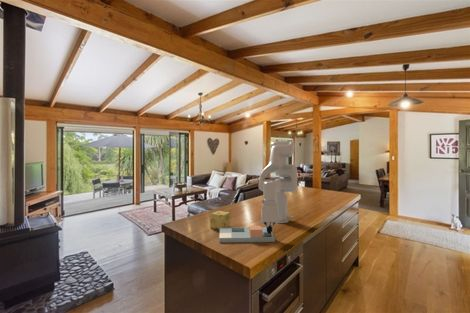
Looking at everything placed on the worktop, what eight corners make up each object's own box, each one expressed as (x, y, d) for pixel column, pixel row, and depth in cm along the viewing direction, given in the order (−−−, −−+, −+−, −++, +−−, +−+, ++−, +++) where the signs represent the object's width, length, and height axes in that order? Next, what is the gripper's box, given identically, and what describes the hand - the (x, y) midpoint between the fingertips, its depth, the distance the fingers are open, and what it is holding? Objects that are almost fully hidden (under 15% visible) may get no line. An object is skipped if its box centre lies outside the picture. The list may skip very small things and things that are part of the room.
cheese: (222, 230, 152) (222, 215, 152) (209, 227, 158) (209, 213, 158) (230, 226, 161) (230, 212, 161) (218, 223, 167) (218, 210, 167)
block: (260, 233, 141) (260, 225, 141) (262, 237, 134) (262, 229, 134) (248, 233, 141) (249, 225, 141) (250, 237, 134) (250, 229, 134)
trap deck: (268, 230, 152) (268, 227, 152) (274, 241, 134) (274, 237, 134) (219, 231, 151) (219, 227, 150) (219, 242, 133) (219, 238, 133)
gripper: (258, 203, 134) (257, 235, 135) (283, 203, 135) (283, 235, 135) (256, 201, 142) (256, 230, 142) (280, 200, 143) (280, 230, 143)
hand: (269, 232), depth 139 cm, fingers closed
